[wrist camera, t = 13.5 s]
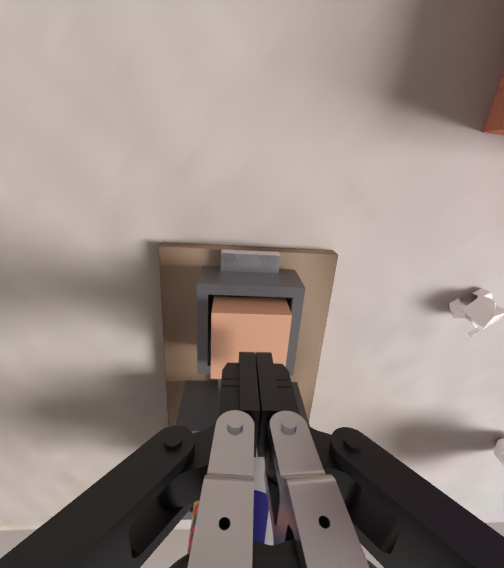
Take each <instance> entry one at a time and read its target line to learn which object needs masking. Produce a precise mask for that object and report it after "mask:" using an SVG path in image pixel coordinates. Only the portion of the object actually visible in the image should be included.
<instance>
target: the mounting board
mask: <svg viewBox="0 0 504 568" xmlns="http://www.w3.org/2000/svg"><path fill="white" fill-rule="evenodd" d="M222 249H225V250H246V251H267V252H279V254H280V266H279V269H289V270H295V271H296V272H297V274H298V276H299V277H300V279H301V281H302V283H303V284H304V286H305V295H304V302H303V309H302V316H301V323H300V331H299V338H298V345H297V352H296V359H295V366H294V374H293V376H290V378H291V382H297V383H298V387H299V390H300V394H301V397H302V401H303V404H304V408H305V411H306V415H307V418H308V422H309V418H310V412H311V406H312V401H313V395H314V389H315V384H316V378H317V372H318V367H319V361H320V355H321V349H322V344H323V338H324V332H325V327H326V321H327V315H328V310H329V304H330V298H331V293H332V287H333V281H334V276H335V270H336V264H337V259H338V254H337V253H335V252H334V251H331V250H310V249H289V248H269V247H248V246H227V245H206V244H186V243H165V242H162V244H161V245H160V246H159V260H160V278H161V297H162V315H163V333H164V351H165V369H166V387H167V406H168V424H169V426H174V425H175V424H176V420H177V416H178V411H179V407H180V403H181V399H182V394H183V390H184V386H185V381H186V380H191V381H218V379H211V374H197V281H198V278H199V275H200V272H201V269H202V266H220V267H221V250H222ZM214 296H220V295H212V307H213V300H214ZM276 298H281V299H282V298H283V297H276Z"/></svg>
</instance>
